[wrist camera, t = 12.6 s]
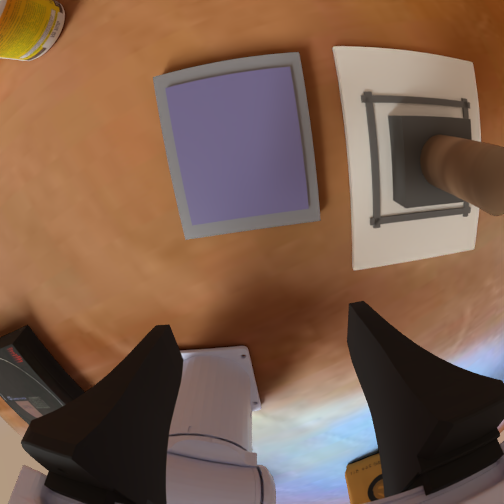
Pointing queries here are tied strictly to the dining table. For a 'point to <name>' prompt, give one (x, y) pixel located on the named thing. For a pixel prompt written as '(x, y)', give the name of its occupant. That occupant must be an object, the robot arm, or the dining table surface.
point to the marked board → (379, 150)
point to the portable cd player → (32, 376)
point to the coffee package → (365, 480)
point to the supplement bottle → (29, 27)
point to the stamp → (444, 164)
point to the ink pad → (239, 144)
